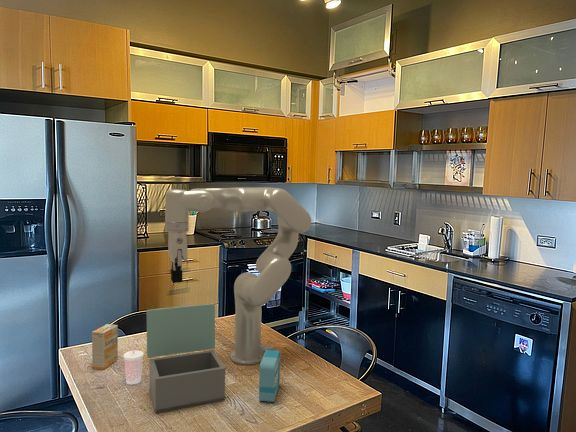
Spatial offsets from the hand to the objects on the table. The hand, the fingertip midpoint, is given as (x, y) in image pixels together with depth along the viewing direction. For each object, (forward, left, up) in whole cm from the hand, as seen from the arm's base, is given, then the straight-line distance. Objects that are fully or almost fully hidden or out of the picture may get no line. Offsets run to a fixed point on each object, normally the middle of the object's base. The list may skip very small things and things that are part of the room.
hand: (176, 280), depth 145 cm
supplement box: (+22, -13, -31) cm, 40 cm away
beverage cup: (+14, +3, -31) cm, 34 cm away
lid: (0, +10, -13) cm, 17 cm away
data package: (-24, +26, -31) cm, 47 cm away
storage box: (0, +18, -31) cm, 36 cm away
